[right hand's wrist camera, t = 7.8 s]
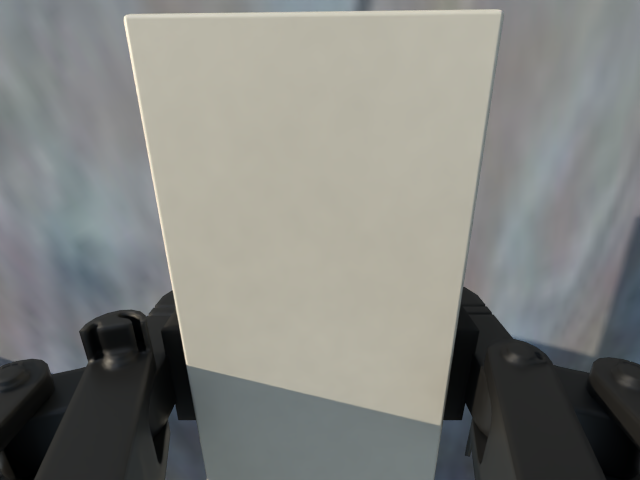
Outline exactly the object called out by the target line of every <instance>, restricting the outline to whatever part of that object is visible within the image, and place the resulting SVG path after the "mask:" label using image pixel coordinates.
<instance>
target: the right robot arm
mask: <svg viewBox="0 0 640 480" xmlns="http://www.w3.org/2000/svg"><path fill="white" fill-rule="evenodd" d="M79 333H80V336H81V339H82V343H83V346H84V349H85V353H86V356H87V359H88V364H87V366H86V367H84V368H80V369H75V370H71V371H66V372H61V373H56V374H52V375H51V373H50V370H49V367H48V364H47V363H45V362H44V361H43V360H38V359H27V360H20V361H16V362H12V363H9V364H6V365H3V366H1V367H0V480H165V475H166V466H167V458H168V449H169V440H170V428H169V423H168V417H169V415H170V413H171V411H172V409H173V407H174V405H176V410H177V415H178V420H196V416H195V410H194V405H193V399H192V394H191V388H190V383H189V377H188V371H187V366H186V360H185V355H184V349H183V344H182V338H181V333H180V327H179V322H178V316H177V311H176V305H175V300H174V294H173V290H172V291H171V292H169V293H167V294H166V295H164V296H163V297H162V298H161V299H160V301H159V302H158V303H157V304H156V306H155V308H153V309H152V310H151V312H150V313H149V316H147V317H146V315H144V314H143V313H142V312H140V311H135V310H119V311H115V312H111V313H107V314H104V315H102V316H99V317H97V318H95V319H93V320H92V321H90V322H88V323H87V324H85V325H84V327H83V328H82V329H81V330H80V331H79ZM465 403H466V405H467V407H468V409H469V411H470V413H471V415H472V417H473V418H472V423H471V427H470V432H469V437H468V441H467V446H466V452H465V456H469V457H470V453H471V449H472V457H473V466H474V474H475V480H640V365H639V364H637V363H634V362H629V361H628V360H624V359H617V358H610V357H607V358H599V359H598V360H596V361H595V362H593V365H592V368H591V371H590V373H587V372H582V371H577V370H572V369H567V368H563V367H558V366H555V365H553V364H552V362H551V360H550V359H549V358H548V356H547V355H546V354H545V353H544V352H542V351H541V350H539V349H538V348H537V347H535V346H533V345H531V344H528V343H526V342H523V341H520V340H516V339H513V338H512V337H511V335H510V334H509V333H508V332H507V331H506V329H505V328H504V327H503V326H502V324H501V323H500V322H499V321H498V320H497V318H496V317H495V316H494V315H492V312H491V311H490V310H489V309H488V307H485V304H484V303H483V301H482V300H481V299H480V298H479V296H478V295H476V294H475V293H473V292H472V291H470V290H468V289H467V288H465V287H463V291H462V298H461V304H460V311H459V318H458V324H457V331H456V338H455V344H454V351H453V358H452V364H451V371H450V378H449V384H448V391H447V397H446V404H445V411H444V417H443V420H462V416H463V411H464V406H465Z"/></svg>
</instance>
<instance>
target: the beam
mask: <svg viewBox="0 0 640 480" xmlns="http://www.w3.org/2000/svg"><path fill="white" fill-rule="evenodd" d="M503 18H504V13H503V11H501V10H499V9H490V10H412V11H334V12H256V13H178V14H128V15H126V16H124V25H125V30H126V36H127V41H128V47H129V52H130V58H131V63H132V69H133V74H134V80H135V85H136V91H137V96H138V102H139V107H140V113H141V118H142V124H143V129H144V135H145V140H146V146H147V151H148V157H149V162H150V168H151V173H152V179H153V184H154V190H155V195H156V201H157V206H158V212H159V217H160V223H161V228H162V234H163V239H164V245H165V250H166V256H167V261H168V267H169V272H170V278H171V283H172V289H173V294H174V300H175V305H176V311H177V316H178V322H179V327H180V333H181V338H182V344H183V349H184V355H185V360H186V366H187V371H188V377H189V383H190V388H191V394H192V399H193V405H194V410H195V416H196V421H197V427H198V432H199V438H200V443H201V449H202V454H203V460H204V465H205V471H206V476H207V480H434V477H435V471H436V464H437V457H438V451H439V444H440V437H441V431H442V424H443V417H444V411H445V404H446V397H447V391H448V384H449V378H450V371H451V364H452V358H453V351H454V344H455V338H456V331H457V324H458V318H459V311H460V304H461V298H462V291H463V284H464V278H465V271H466V264H467V258H468V251H469V244H470V238H471V231H472V224H473V218H474V211H475V204H476V198H477V191H478V184H479V178H480V171H481V164H482V158H483V151H484V144H485V138H486V131H487V124H488V118H489V111H490V104H491V98H492V91H493V84H494V78H495V71H496V64H497V58H498V51H499V44H500V38H501V31H502V24H503Z"/></svg>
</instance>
